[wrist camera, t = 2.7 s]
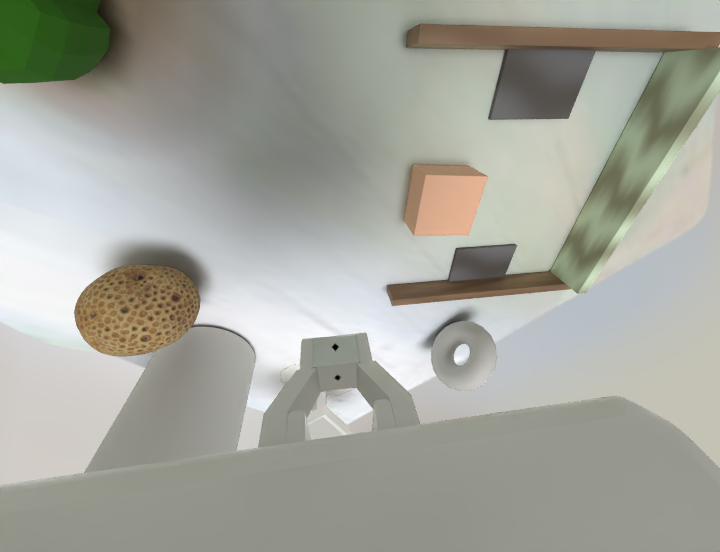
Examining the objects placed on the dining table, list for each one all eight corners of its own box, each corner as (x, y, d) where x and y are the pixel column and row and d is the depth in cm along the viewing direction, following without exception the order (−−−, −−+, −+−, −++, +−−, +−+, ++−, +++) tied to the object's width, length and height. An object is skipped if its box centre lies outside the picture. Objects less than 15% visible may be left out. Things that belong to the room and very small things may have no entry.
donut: (431, 349, 45) (457, 407, 37) (418, 343, 43) (441, 402, 36) (478, 313, 41) (517, 368, 33) (465, 304, 40) (503, 360, 32)
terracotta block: (412, 164, 27) (425, 175, 23) (468, 165, 27) (488, 176, 24) (403, 219, 30) (414, 235, 27) (452, 219, 31) (468, 235, 28)
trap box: (407, 30, 20) (430, 18, 16) (684, 37, 23) (760, 28, 19) (386, 290, 36) (395, 317, 32) (554, 276, 39) (582, 298, 35)
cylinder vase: (261, 330, 37) (199, 622, 17) (251, 382, 43) (196, 637, 23) (157, 317, 33) (-81, 673, 13) (162, 375, 40) (8, 674, 20)
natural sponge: (161, 225, 27) (95, 287, 19) (230, 282, 32) (201, 349, 24) (102, 269, 28) (19, 342, 20) (176, 316, 33) (132, 389, 25)
